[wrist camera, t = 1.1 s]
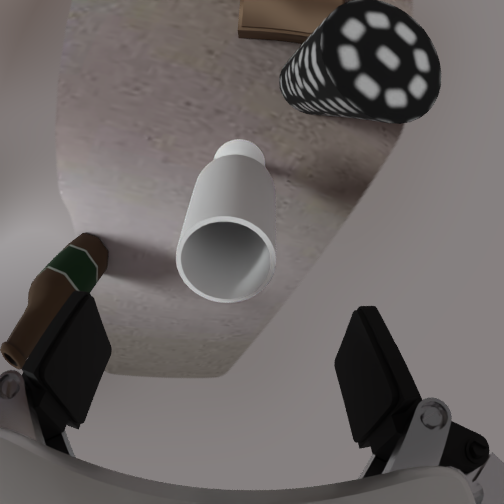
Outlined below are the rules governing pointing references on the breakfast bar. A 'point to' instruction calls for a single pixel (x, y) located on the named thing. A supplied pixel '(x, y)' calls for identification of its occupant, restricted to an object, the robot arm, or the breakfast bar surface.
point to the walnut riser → (283, 18)
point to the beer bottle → (55, 293)
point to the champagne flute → (230, 226)
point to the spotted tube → (364, 66)
